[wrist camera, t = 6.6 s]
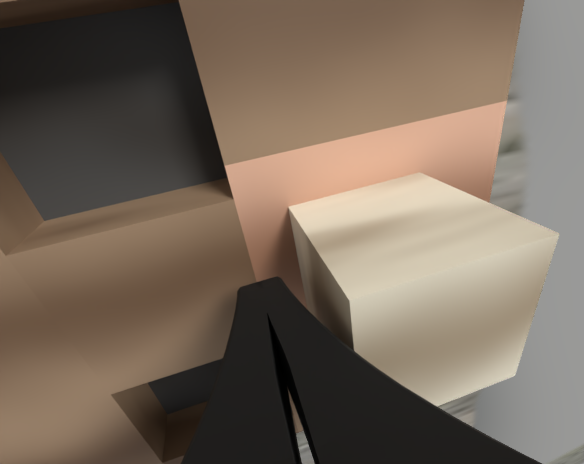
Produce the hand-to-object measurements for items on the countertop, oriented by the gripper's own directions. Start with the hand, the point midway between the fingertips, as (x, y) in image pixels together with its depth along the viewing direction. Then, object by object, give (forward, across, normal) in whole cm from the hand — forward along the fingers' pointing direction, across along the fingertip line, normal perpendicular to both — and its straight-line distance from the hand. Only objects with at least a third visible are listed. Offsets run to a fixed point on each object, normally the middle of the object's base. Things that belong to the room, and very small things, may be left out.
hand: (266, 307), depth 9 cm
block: (+1, -4, 0) cm, 4 cm away
